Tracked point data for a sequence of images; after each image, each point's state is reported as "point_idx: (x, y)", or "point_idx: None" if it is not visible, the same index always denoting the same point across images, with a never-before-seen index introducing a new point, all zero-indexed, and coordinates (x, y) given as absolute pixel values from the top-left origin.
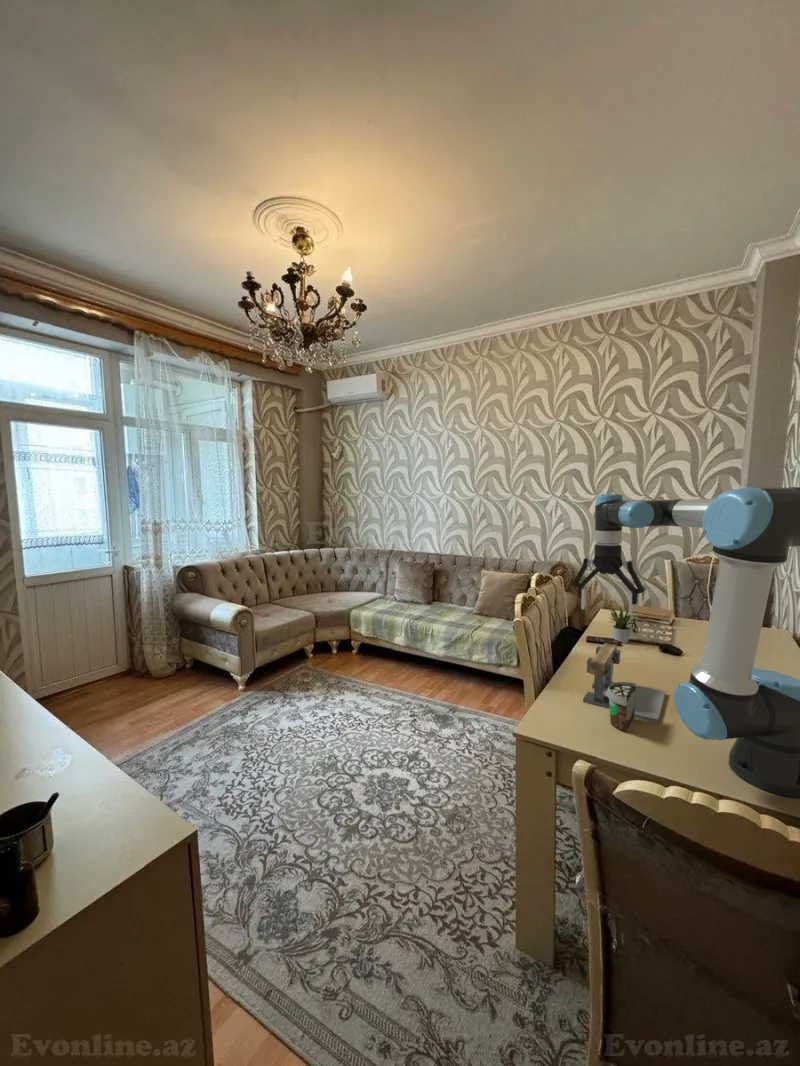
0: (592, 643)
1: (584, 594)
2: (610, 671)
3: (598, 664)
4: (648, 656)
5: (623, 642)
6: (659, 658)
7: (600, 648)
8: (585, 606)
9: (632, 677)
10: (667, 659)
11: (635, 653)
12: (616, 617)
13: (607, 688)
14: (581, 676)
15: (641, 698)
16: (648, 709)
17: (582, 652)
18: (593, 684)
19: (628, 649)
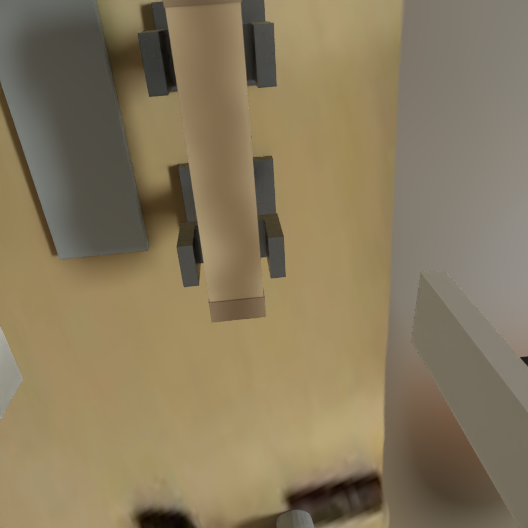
0: (360, 472)
1: (499, 399)
2: (147, 31)
3: None
4: (201, 472)
5: (285, 515)
6: (173, 475)
7: (269, 262)
8: (418, 335)
9: (189, 317)
10: (154, 480)
11: (237, 472)
12: None
13: None
14: (329, 227)
15: (94, 151)
16: (36, 67)
17: (371, 403)
18: (269, 164)
19: (261, 485)
